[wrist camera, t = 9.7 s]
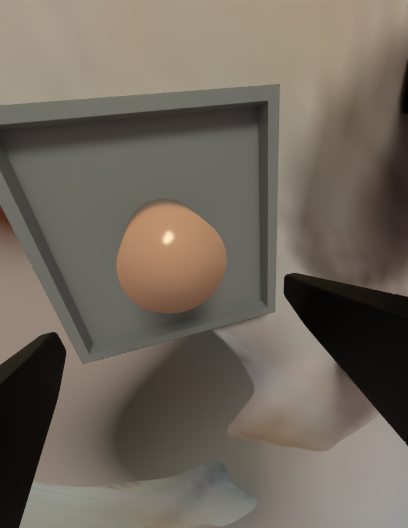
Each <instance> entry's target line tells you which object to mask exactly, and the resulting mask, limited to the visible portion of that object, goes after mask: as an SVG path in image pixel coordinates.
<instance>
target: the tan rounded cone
mask: <svg viewBox="0 0 408 528" xmlns="http://www.w3.org/2000/svg"><path fill="white" fill-rule="evenodd" d="M226 264H227V256H226V250H225V247H224V243H223V241H222V239H221V237H220V236H219V234H218V233H217V232H216V230H215V229H214V228H213V227H212V226H211V225H209V224H208V223H207V222H206V221H205V220H203V219H202V218H201V217H200V216H199V215H197V214H196V213H195V212H194V211H193V210H191V209H190V208H189V207H188V206H186V205H185V204H183V203H181V202H179V201H176V200H172V199H156V200H152V201H150V202H147V203H145V204H143V205H142V206H141V207H139V208H138V209H137V210H136V211H135V212H134V214H133V215H132V216H131V218H130V220H129V222H128V225H127V228H126V231H125V234H124V237H123V240H122V243H121V246H120V248H119V251H118V256H117V264H116V268H117V275H118V279H119V282H120V284H121V286H122V288H123V290H124V291H125V293H126V294H127V295H128V296H129V297H130V298H131V299H132V300H133V301H134V302H135V303H137V304H138V305H140V306H141V307H143V308H145V309H148V310H150V311H154V312H158V313H179V312H184V311H187V310H190V309H193V308H195V307H197V306H199V305H201V304H202V303H204V302H205V301H206V300H208V299H209V298H210V297H211V296H212V295H213V294H214V293H215V291H216V290H217V289H218V287H219V286H220V284H221V282H222V280H223V277H224V275H225V271H226Z"/></svg>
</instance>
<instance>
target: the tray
mask: <svg viewBox="0 0 408 528" xmlns="http://www.w3.org/2000/svg"><path fill="white" fill-rule="evenodd" d="M279 92H280V84H276V85H263V86H249V87H236V88H223V89H210V90H197V91H184V92H171V93H158V94H145V95H132V96H119V97H105V98H92V99H79V100H66V101H53V102H40V103H27V104H14V105H1V106H0V205H1V207H2V208H3V210H4V212H5V214H6V216H7V218H8V220H9V222H10V224H11V226H12V228H13V230H14V232H15V234H16V236H17V238H18V240H19V242H20V243H21V245H22V247H23V249H24V251H25V253H26V255H27V257H28V259H29V261H30V263H31V265H32V267H33V269H34V271H35V273H36V274H37V277H38V278H39V280H40V282H41V284H42V286H43V288H44V290H45V291H46V294H47V296H48V298H49V300H50V302H51V304H52V306H53V308H54V310H55V312H56V313H57V315H58V317H59V319H60V321H61V323H62V325H63V327H64V329H65V331H66V333H67V335H68V337H69V339H70V341H71V343H72V345H73V346H74V348H75V350H76V352H77V354H78V356H79V358H80V360H81V362H82V364H85V363H89V362H92V361H96V360H100V359H104V358H107V357H111V356H115V355H118V354H122V353H126V352H129V351H133V350H137V349H140V348H144V347H148V346H151V345H155V344H158V343H162V342H166V341H170V340H173V339H177V338H181V337H185V336H188V335H192V334H195V333H199V332H203V331H207V330H210V329H214V328H218V327H221V326H225V325H229V324H232V323H236V322H240V321H243V320H247V319H251V318H254V317H258V316H262V315H265V314H269V313H273V312H275V287H276V239H277V190H278V141H279ZM156 199H172V200H176V201H179V202H181V203H183V204H185V205H186V206H188V207H189V208H190V209H191V210H193V211H194V212H195V213H196V214H197V215H199V216H200V217H201V218H202V219H203V220H205V221H206V222H207V223H208V224H209V225H211V226H212V227H213V228H214V229H215V230H216V232H217V233H218V234H219V236H220V237H221V239H222V241H223V243H224V247H225V250H226V256H227V264H226V271H225V275H224V277H223V280H222V282H221V284H220V286H219V287H218V289H217V290H216V291H215V293H214V294H213V295H212V296H211V297H210V298H209V299H208V300H206V301H205V302H204V303H202V304H201V305H199V306H197V307H195V308H193V309H190V310H187V311H184V312H179V313H158V312H154V311H150V310H148V309H145V308H143V307H141V306H140V305H138V304H137V303H135V302H134V301H133V300H132V299H131V298H130V297H129V296H128V295H127V294H126V293H125V291H124V290H123V288H122V286H121V284H120V282H119V279H118V275H117V268H116V264H117V256H118V251H119V248H120V246H121V243H122V240H123V237H124V234H125V231H126V228H127V225H128V222H129V220H130V218H131V216H132V215H133V214H134V212H135V211H136V210H137V209H138V208H139V207H141V206H142V205H143V204H145V203H147V202H150V201H152V200H156Z"/></svg>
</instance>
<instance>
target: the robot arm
mask: <svg viewBox="0 0 408 528" xmlns="http://www.w3.org/2000/svg"><path fill="white" fill-rule="evenodd" d="M403 111H404V113H405V114H408V90H407V94H406V99H405V103H404V108H403ZM284 295H285V297H286V299H287V300H288V302H289V303H290V305H291V306H292V307H293V309H294V310H295V312H296V313H297V315H298V316H299V318H300V319H301V320H302V322H303V323H304V324H305V326H306V327H307V328H308V329H309V331H310V332H311V333H312V334H313V335H314V336H315V338H316V339H317V340H318V341H319V342H320V344H321V345H322V346H323V347H324V348H325V349H326V351H327V352H328V353H329V354H330V355H331V356H332V358H333V359H334V360H335V361H336V362H337V363H338V365H339V366H340V367H341V368H342V369H343V370H344V372H345V373H346V374H347V375H348V376H349V377H350V379H351V380H352V381H353V382H354V383H355V385H356V386H357V387H358V388H359V389H360V390H361V392H362V393H363V394H364V395H365V396H366V397H367V399H368V400H369V401H370V402H371V403H372V404H373V406H374V407H375V408H376V409H377V410H378V411H379V413H380V414H381V415H382V416H383V417H384V418H385V420H386V421H387V422H388V423H389V424H390V425H391V427H392V428H393V429H394V430H395V431H396V433H397V434H398V435H399V436H400V437H401V438H402V439H403V441H405V442H406V444H407V446H408V297H406V296H401V295H397V294H394V295H393V294H392V293H387V292H382V291H378V290H373V289H368V288H364V287H359V286H354V285H350V284H345V283H340V282H336V281H331V280H326V279H322V278H317V277H312V276H308V275H303V274H298V273H291V274H287V275H286V276H285V277H284ZM65 358H66V350H65V347H64V345H63V343H62V342H61V340H60V338H59V336H58V335H57V333H55V332H51V333H47V334H43V335H41V336H39V337H38V338H36V339H35V340H34V341H32V342H31V343H30V344H28V345H27V346H25V347H24V348H23V349H21V350H20V351H19V352H17V353H16V354H15V355H13V356H12V357H10V358H9V359H8V360H6V361H5V362H4V363H2V364H1V365H0V528H19V526H20V523H21V519H22V516H23V513H24V509H25V506H26V503H27V499H28V496H29V493H30V489H31V486H32V483H33V479H34V476H35V473H36V469H37V466H38V463H39V460H40V456H41V453H42V449H43V446H44V443H45V440H46V436H47V433H48V429H49V426H50V423H51V420H52V416H53V413H54V410H55V406H56V403H57V399H58V395H59V390H60V385H61V380H62V374H63V369H64V364H65Z"/></svg>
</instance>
